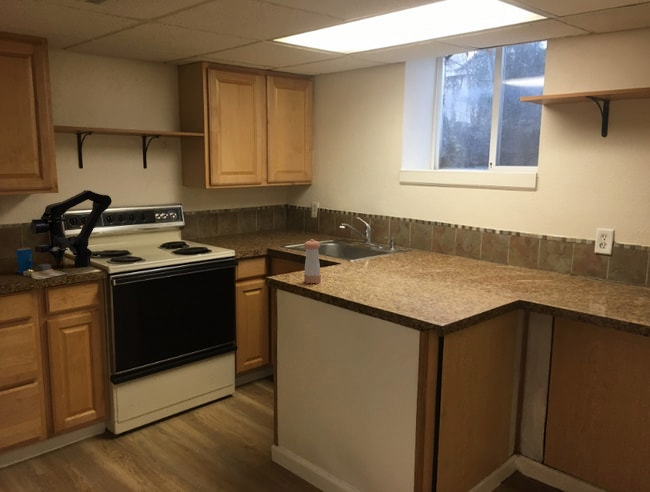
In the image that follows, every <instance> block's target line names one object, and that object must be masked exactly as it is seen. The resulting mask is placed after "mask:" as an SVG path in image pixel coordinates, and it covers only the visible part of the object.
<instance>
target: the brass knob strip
mask: <svg viewBox="0 0 650 492" xmlns="http://www.w3.org/2000/svg"><path fill="white" fill-rule="evenodd" d="M31 273H34V270H30V269H28V275H25V276H24V277H26V276H27V278H31Z"/></svg>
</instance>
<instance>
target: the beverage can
mask: <svg viewBox="0 0 650 492" xmlns="http://www.w3.org/2000/svg"><path fill="white" fill-rule="evenodd" d="M33 257H34V256H33V250H32V249H31V247H20V248H17V249H16V262H17V271H18V273H19V274H24V273H23V272H24V271H28V269H30V270H34V269H35V268H34V259H33Z"/></svg>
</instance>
